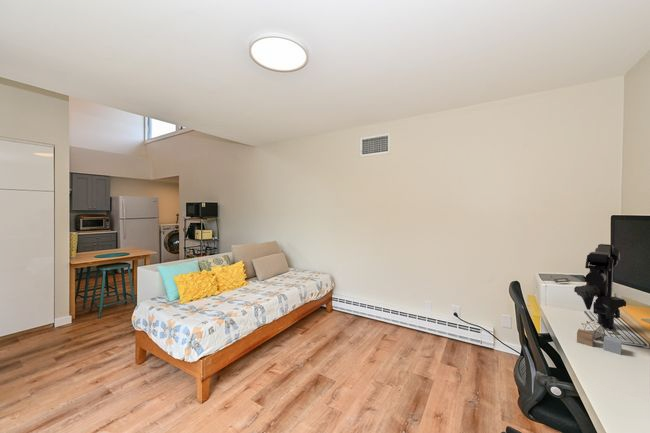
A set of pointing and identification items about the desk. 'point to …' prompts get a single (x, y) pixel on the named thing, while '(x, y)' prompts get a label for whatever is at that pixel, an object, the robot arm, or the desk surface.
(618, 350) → the slate block
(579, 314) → the desk surface
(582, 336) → the walnut block
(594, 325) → the game die
